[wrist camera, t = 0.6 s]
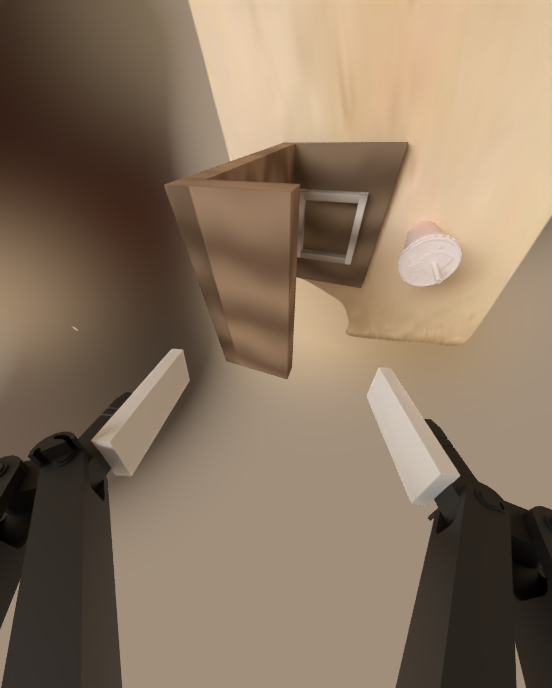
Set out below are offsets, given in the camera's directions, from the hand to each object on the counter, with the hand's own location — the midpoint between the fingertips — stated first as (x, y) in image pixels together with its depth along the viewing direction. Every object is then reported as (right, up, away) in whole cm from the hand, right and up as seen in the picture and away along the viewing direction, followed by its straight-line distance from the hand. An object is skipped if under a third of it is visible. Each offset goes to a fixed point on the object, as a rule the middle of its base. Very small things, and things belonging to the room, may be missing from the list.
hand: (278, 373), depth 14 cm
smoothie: (+22, +19, +17) cm, 34 cm away
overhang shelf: (+9, +22, +21) cm, 31 cm away
